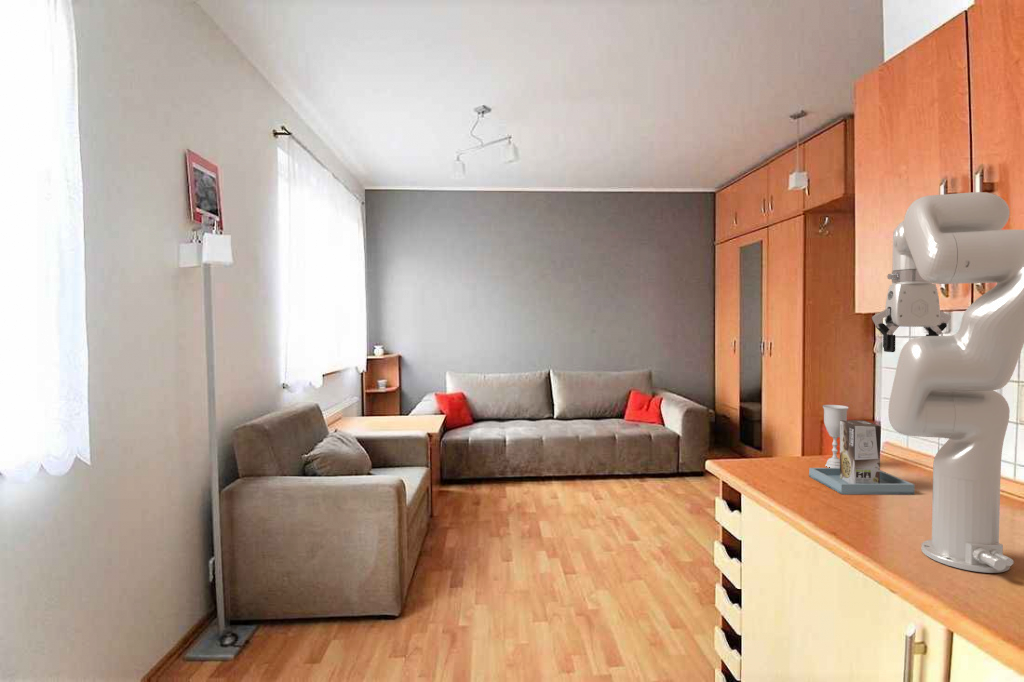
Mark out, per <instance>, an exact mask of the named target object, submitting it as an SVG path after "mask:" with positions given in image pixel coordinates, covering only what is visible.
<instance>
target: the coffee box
mask: <svg viewBox="0 0 1024 682" xmlns="http://www.w3.org/2000/svg"><path fill="white" fill-rule="evenodd" d="M881 432H882V426H881V425H879V424H876V423H873V422H870V421H867V420H863V419H860V420H859V419H849V420H848V419H847V421H844V420H840V437H839V459H840V479H842V480H844V481H846V482H847V483H849V484H880V470H881V434H882V433H881Z"/></svg>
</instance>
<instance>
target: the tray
mask: <svg viewBox="0 0 1024 682" xmlns="http://www.w3.org/2000/svg"><path fill="white" fill-rule="evenodd" d="M808 469H809V473H808V474H809V475H808V477H809V478H810V479H813V480H814V481H816V482H818V483H820V484H822V485H823V484H824V486H825V485H826V486H825V487H827V488H829V489H831V490H833V491H834V490H835V491H834V492H836V491H837V492H836V493H838V494H840V495H915V487H916V485H915V484H914V483H912V482H910V481H907V480H904V479H902V478H900V477H897V476H895V475H893V474H890V473H888V472H886V471H883V470H881V469H880V484H849V483H847V482H846V481H844V480H842V479H840V468H829V467H809V468H808Z"/></svg>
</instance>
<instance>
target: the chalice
mask: <svg viewBox="0 0 1024 682" xmlns="http://www.w3.org/2000/svg"><path fill="white" fill-rule="evenodd" d="M822 408H823V423H824V426H825V429H826V431H827V433H828V435H829V437H831V438H832V439H833V441H832V443H831V445H832V449H831V451H832V457H829V458H828V459H827V461H826V464H824V465H825V467H826V466H827V467H826V468H829V467H830V468H840V458H839V457H838V455H837V453H838V451H839V450H838V445H839V444H838V441H837V440H838V438H840V420H844V421H848V418H847V416H848V410H849V408H850V407H848V406H847V405H841V404H840V405H838V404H823V405H822Z"/></svg>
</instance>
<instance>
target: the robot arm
mask: <svg viewBox="0 0 1024 682" xmlns="http://www.w3.org/2000/svg"><path fill="white" fill-rule="evenodd" d="M1010 214H1011V212H1010V206H1009V205H1008V203H1007V202H1006V200H1004V199H1003V198H1002V197H1001V196H999V195H997V194H994V193H990V192H982V191H978V192H977V191H973V192H961V193H959V192H957V193H947V194H933V195H925V196H921V197H919V198H917V199H915V200H914V201H913V202H912V203H911V204H910V205H909V206H908V208H907V210H906V212H905V214H904V219H903V221H901V222H900V223H898V224H897V226H896V227H895V228H894V230H893V232H892V271H891V273H888V274H887V279H888V280H891V284H890V285H889V287H888V291H887V295H886V300H885V309H884V310H882V311H880V312H878V313H876V314H874V315H873V316H871V320H872V322H873V323H874V325H875V328H876V329H877V330H878V331H879V332H880V334H881V335H882V347H883V352H884V353H885V352H886V353H895V352H896V335H895V333H894V332H896V330H897V329H898V328H899V327H901V328H902V327H904V328H905V327H908V328H909V327H911V328H914V327H915V328H919V327H922V328H923V329H924V330H925V331H926V332H927V334H926V335H923V336H917V337H914V338H912V339H909V340H908V341H907V342H906V343H904V345H903V347H902V348H901V351H900V353H899V356H898V359H897V360H898V361H897V363H896V368H895V374H894V378H893V383H892V388H891V392H890V397H889V403H888V420H889V423H890V426H891V428H893V430H894V431H896V432H897V433H899V434H901V435H904V436H911V437H918V438H919V437H921V438H922V437H923V438H940V439H941V438H943V439H948V440H947V441H946V442H945V443H944V444H943V445H942V446H941V447H940V448H939V450H938V451H937V452H936V454H935V457H934V459H933V466H932V501H931V502H932V503H931V504H932V509H931V510H932V512H931V515H932V517H931V539H927V540H924V541H923V542H921V544H920V545H921V548H920V549H921V551H922V553H923V554H924V555H925V556H926V557H928V558H930V559H932V560H933V561H936V562H938V563H941V564H943V565H946V566H949V567H952V568H957V569H960V570H965V571H970V572H975V573H977V572H978V573H984V574H985V573H986V574H987V573H988V574H993V573H994V574H997V573H998V574H999V573H1003V572H1007V571H1008V570H1010V568H1011V566H1012V565H1014V560H1013V559H1012V558H1011V557H1010V556H1007V555H1004V554H1003V553H1004V545H1003V544H1002V543H1000V516H1001V515H1000V512H1001V511H1000V510H1001V509H1000V508H1001V507H1000V506H1001V476H1002V475H1001V474H1002V454H1003V446H1004V440H1005V436H1006V432H1007V430H1008V427H1009V422H1010V406H1009V403H1008V400H1007V399H1006V398H1005V397H1004V396H1003V395H1002V394H1001V393H1000V392H998V390H1001V389H1002V388H1004V387H1005V386H1006V385H1007V384H1008V383H1010V381H1011V379H1012V376H1013V374H1014V371H1015V370H1016V367H1017V364H1018V361H1019V358H1020V356H1021V353H1022V350H1023V346H1024V229H1003V228H1005V226H1006V224H1007V223H1008V221H1009V218H1010ZM988 283H989V284H990V283H991V284H993V283H994V284H995V283H996V285H995V286H993V288H991V289H990V290H988V291H986V292H984V293H983V294H981V296H979V297H978V298H977V299H975V300H974V301H973V302H972V303H971V304H970V305H969V306H968V307H967V309H966V310H965V311H964V312H963V313H962V314H963V315H962V318H961V322H960V326H959V329H958V331H957V332H956V333H955V334H953V335H942V333H943V331H944V330H945V329H946V328H947V326H948V324H949V322H950V320H951V315H950V314H947V313H946V312H944V311H943V310H941V308H940V307H941V306H940V298H939V292H938V291H939V290H938V288H937V285H948V284H949V285H952V284H953V285H954V284H955V285H957V284H988ZM936 284H937V285H936ZM883 319H884V322H883ZM996 390H997V391H996Z"/></svg>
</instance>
